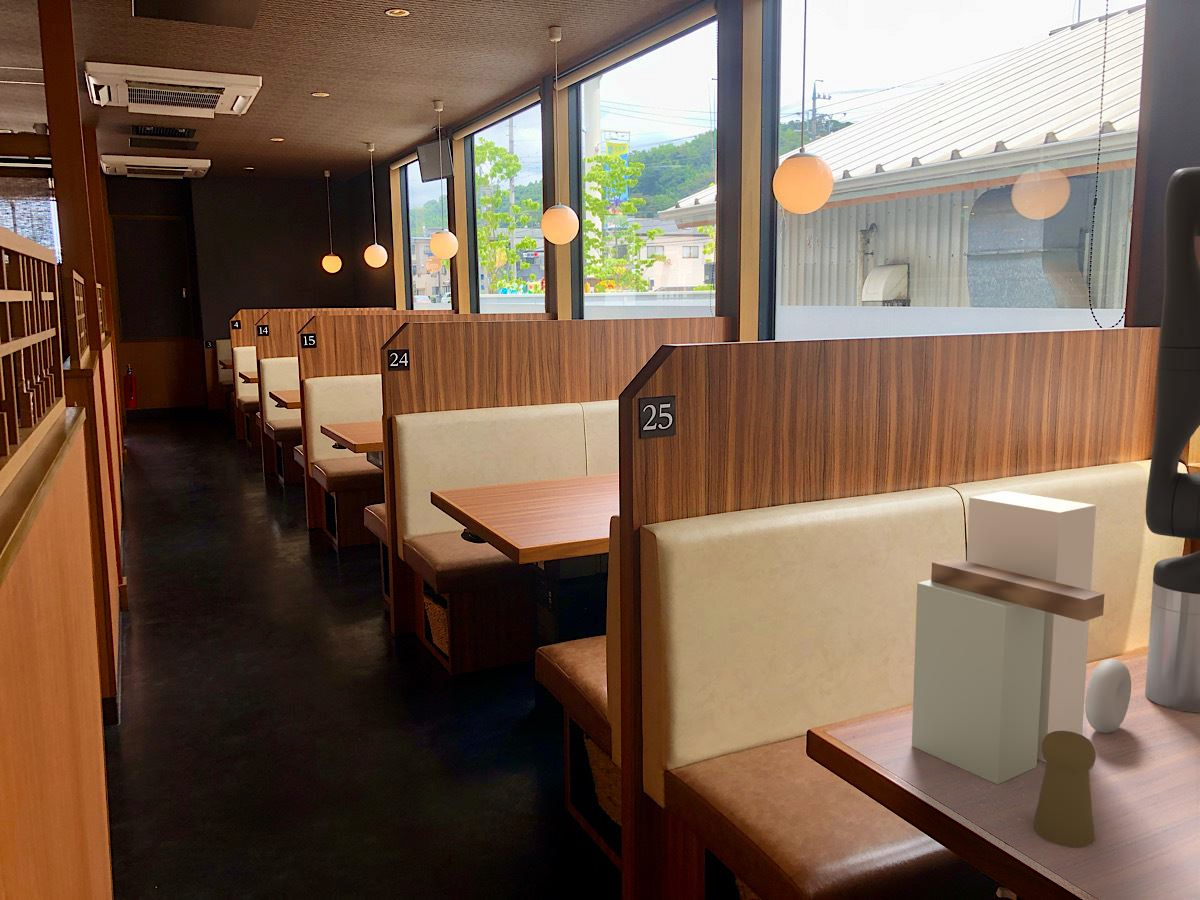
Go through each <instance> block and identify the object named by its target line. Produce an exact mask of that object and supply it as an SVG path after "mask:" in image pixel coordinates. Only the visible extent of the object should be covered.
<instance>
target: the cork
mask: <svg viewBox="0 0 1200 900" xmlns="http://www.w3.org/2000/svg"><path fill="white" fill-rule="evenodd" d="M1096 754H1097V752H1096V749H1095V745H1094V744H1093V742H1092V740H1090V739H1089V738H1087V737H1086V736H1084V735H1083V734H1082V735H1080V734H1078V733H1074V732H1069V731H1054V732H1051V733H1048V734H1047V735H1046V737H1045V738H1044V739H1043V742H1042V755H1043V758H1044V759H1045V761H1046V762H1045V768H1044V772H1043V777H1042V782H1041V785H1040V786H1041V787H1040V790H1039V796H1038V801H1037V805H1036V810H1035V815H1034V820H1033V825H1032V826H1033V830H1034V831H1035V833H1036V835H1038V836H1039V837H1040V838H1042V839H1044V840H1046V841H1048V842H1050V843H1052V844H1055V845H1058V846H1062V847H1068V848H1086V847H1088V846H1091V845H1093V844H1094V842H1095V840H1096V837H1095V827H1094V825H1095V823H1094V814H1093V803H1092V794H1091V793H1092V791H1091V783H1090V782H1091V780H1090V770H1091V768H1092V767H1094V765H1095V763H1096V757H1097V755H1096Z"/></svg>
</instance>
